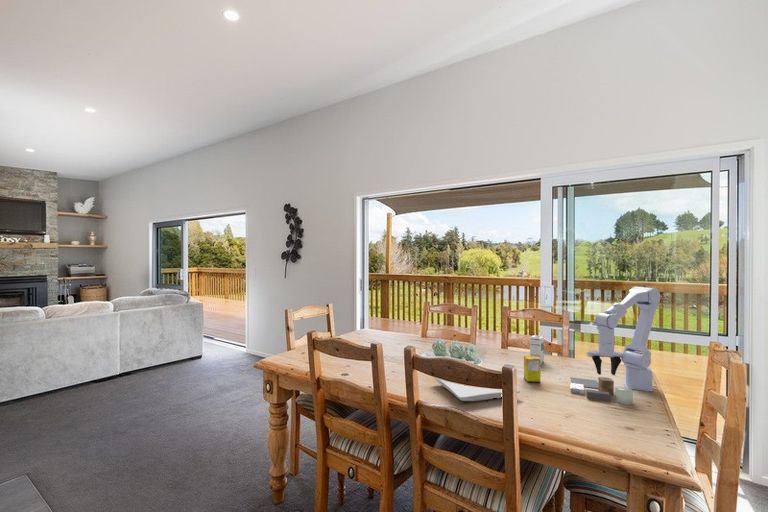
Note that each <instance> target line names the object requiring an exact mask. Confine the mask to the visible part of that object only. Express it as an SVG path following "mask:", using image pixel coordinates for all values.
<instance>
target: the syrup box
mask: <svg viewBox="0 0 768 512" xmlns="http://www.w3.org/2000/svg"><path fill="white" fill-rule="evenodd" d="M544 338H545V337H544V336H542V335H532V336H530V337H529V356H537V357H538V358H539V359H540V366H541V365H542V364H544V362H545V350H544V349H545V346H544V345H545V344H544V342H545V339H544Z"/></svg>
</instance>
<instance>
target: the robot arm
mask: <svg viewBox="0 0 768 512" xmlns="http://www.w3.org/2000/svg"><path fill="white" fill-rule="evenodd" d="M661 296H662V295H661V294H660V291H659V289H658V288H656V287H644V286H632V287H631V289H629V290H628V294H627V295H626V296H625V298H623V300H621V302H616V303H615V302H614V303H613V304H612V305H611V306H610V307H609V308H608V309H606V310H605V311H604V312H600V313H598V314H596V316H595V319H594V322H595V325H596V329H597V330H598V332H597V334H598V336H597V337H598V340H597V341H598V343H597V346H598V348H597V350H591V351H590V350H586V357H587V358H589V357H591V359H592V361H593V363H594V365H595V366H594V367H595V368H596V369H595V370H596V373H597V374H598V375H602V362H603V359H601V358H610V374H611V375H612V376H616V373H617V370H618V367H619V365H620V364H621V362H622V363H623V365H624V366H625V381H623V382H622V383H623V385H624V387H626V388H629V389H632V390H635V391H644V392H645V391H646V392H654V391H653V372H652V371H653V370H652V369H651V368H649V367H650V365H651V364H652V363H651V362H652V358H651V357H652V352H651V351H650V350H649V348H648V347H647V344H648V340H649V336H650V334H651V333H650V332H651V329H652V326H653V323H654V318H655V315H656V310H657V309H658V308H659V304H660V302H661V301H660V300H661ZM634 305H636V306H638V307H639V309H640V312H639V315H638V319H637V323H636V326H635V331H634V332H633V336H632V341H631V343H628V344H626V345H625V346H624V349H623V350H622V351H621V352H620V351H615V328H616V327H617V326H618V323H619V321H620V319H622V318H623V317H624V316H626V314H627V313H628V311H627V310H628V309H630V308H631V307H633V306H634Z"/></svg>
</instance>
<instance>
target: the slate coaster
mask: <svg viewBox="0 0 768 512" xmlns="http://www.w3.org/2000/svg"><path fill="white" fill-rule="evenodd" d="M569 379H571V380H570V384H571V383H576V384H583V385H584V388H586V387H587V388H588V389H593V390H594V389H595V390H598V380H597V379H596V380H595V379H591V378H590V379H589V378H588V379H587V378H581V377H579V378H578V377H571V376H570V377H569ZM587 388H586V389H587Z"/></svg>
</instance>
